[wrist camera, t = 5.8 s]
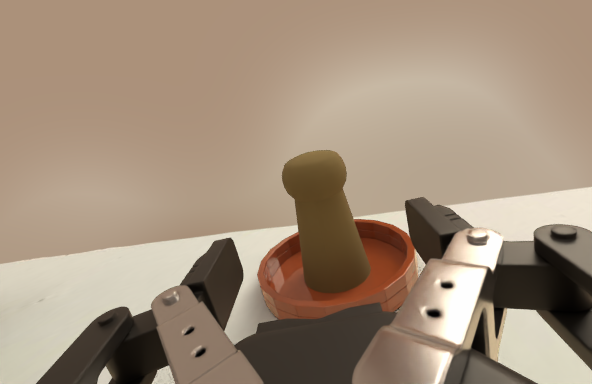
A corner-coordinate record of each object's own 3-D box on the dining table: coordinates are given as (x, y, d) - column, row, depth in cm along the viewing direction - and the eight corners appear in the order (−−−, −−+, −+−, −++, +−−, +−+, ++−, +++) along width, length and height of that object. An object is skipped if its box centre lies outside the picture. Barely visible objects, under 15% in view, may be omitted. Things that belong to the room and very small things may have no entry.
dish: (252, 346, 21) (243, 321, 21) (273, 251, 34) (268, 234, 34) (447, 313, 20) (444, 286, 19) (393, 227, 33) (390, 209, 32)
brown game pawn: (320, 252, 31) (294, 149, 28) (378, 255, 28) (357, 139, 25) (292, 288, 26) (257, 169, 23) (358, 297, 23) (329, 160, 20)
